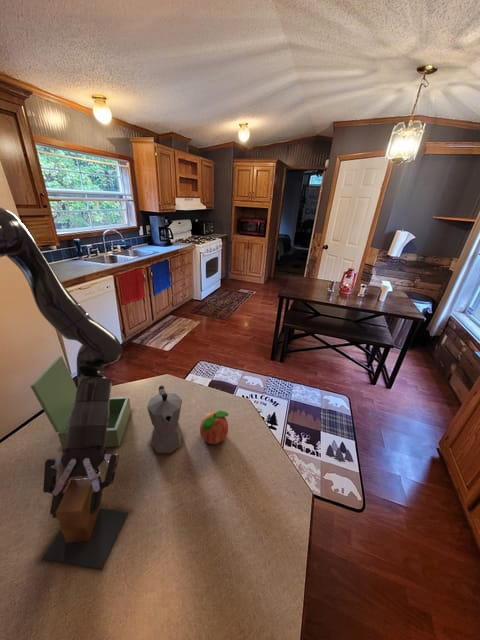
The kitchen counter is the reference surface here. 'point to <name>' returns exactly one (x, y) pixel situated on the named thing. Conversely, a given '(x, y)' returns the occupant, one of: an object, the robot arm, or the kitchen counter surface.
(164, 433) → the coffeepot
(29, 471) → the kitchen counter surface
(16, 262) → the robot arm
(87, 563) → the plate
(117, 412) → the open box
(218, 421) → the fruit
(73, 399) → the lid
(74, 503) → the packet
